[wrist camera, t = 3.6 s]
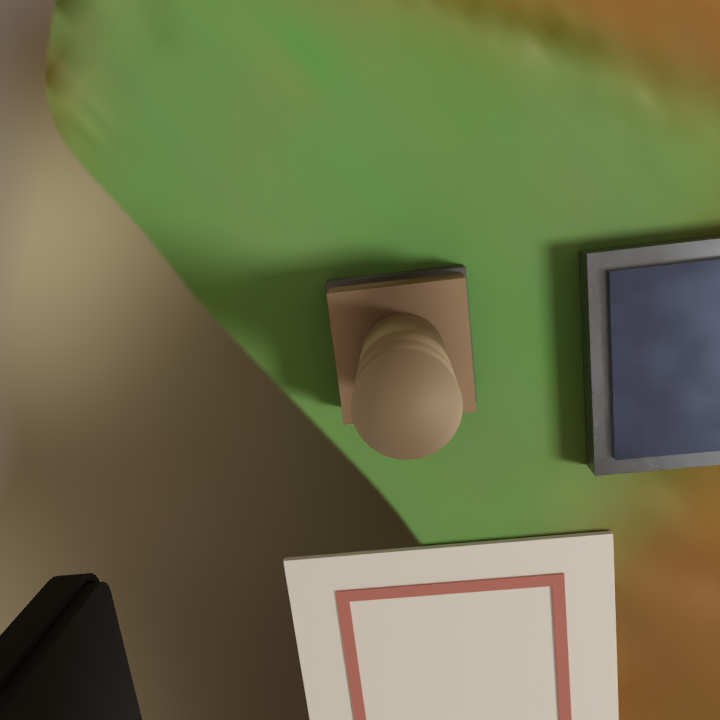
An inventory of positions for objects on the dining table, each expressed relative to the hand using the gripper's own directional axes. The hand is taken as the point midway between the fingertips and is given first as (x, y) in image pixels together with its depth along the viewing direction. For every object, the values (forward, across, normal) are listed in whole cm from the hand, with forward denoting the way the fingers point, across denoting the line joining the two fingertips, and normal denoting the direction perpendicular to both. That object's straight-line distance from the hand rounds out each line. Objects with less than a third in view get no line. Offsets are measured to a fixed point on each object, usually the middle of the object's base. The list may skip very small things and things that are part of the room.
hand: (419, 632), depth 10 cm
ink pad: (+20, -14, +2) cm, 25 cm away
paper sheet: (+20, -1, +18) cm, 27 cm away
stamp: (+20, 0, 0) cm, 20 cm away
